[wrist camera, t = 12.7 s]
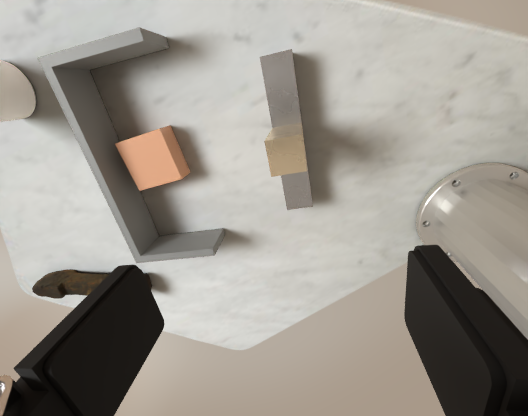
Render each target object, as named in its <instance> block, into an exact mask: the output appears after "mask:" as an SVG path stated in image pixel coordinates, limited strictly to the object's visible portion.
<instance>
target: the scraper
mask: <svg viewBox="0 0 528 416" xmlns="http://www.w3.org/2000/svg"><path fill="white" fill-rule="evenodd" d="M260 61H261V66H262V72H263V77H264V83H265V88H266V94H267V100H268V105H269V111H270V116H271V122H272V130H271V131H270V133H269V135H268V136H267V138H266V139H265V146H266V151H267V156H268V162H269V167H270V172H271V177H273V176H279V175H281V178H282V183H283V189H284V195H285V200H286V206H287V210H290V209H297V208H305V207H313V204H312V195H311V188H310V180H309V173H308V165H307V158H306V150H305V143H304V135H303V128H302V120H301V113H300V105H299V98H298V91H297V83H296V76H295V68H294V61H293V53H292V49H291V50H287V51H283V52H278V53H274V54H270V55H266V56H262V57H260Z"/></svg>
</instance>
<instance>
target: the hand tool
mask: <svg viewBox="0 0 528 416" xmlns="http://www.w3.org/2000/svg"><path fill="white" fill-rule="evenodd" d="M108 275H109V274H90V273H78V271H76V270H62V271H56V272H52V273H49V274H47V275H45V276H44V277H43V278H41V279H40V280H39V281H37V282H36V284H35V285H34V286H33V288H32V289H33V292H34V293H35V294H37V295H38V296H47V297H51V298H63V297H64V296H65V295H74V294H76V295H89V294H90V293H91V292H92V291H93V290H94V289H95V288H96V287H97V286H98V285H99V284H100V283H101V282H102V281H103V280H104V279H105V278H106V277H107V276H108ZM144 277H145V279H146V281H147V283H148V286H149V288H150V290H151V287H152V285H151V279H150V277H149V275H148V274H147V273H145V274H144Z"/></svg>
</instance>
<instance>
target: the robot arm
mask: <svg viewBox="0 0 528 416" xmlns="http://www.w3.org/2000/svg"><path fill="white" fill-rule="evenodd" d="M416 226H417V232H418V235H419V237H420V239H421V240H422V242H423V243H424V245H422V246H416V247H415V249H414V251H409V253H408V266H407V267H408V268H407V282H406V298H405V322H406V326H407V328H408V331H409V333H410V335H411V337H412V340H413V342H414V344H415V346H416V349H417V351H418V353H419V356H420V358H421V360H422V363H423V365H424V367H425V369H426V372H427V374H428V376H429V378H430V381H431V383H432V385H433V388H434V390H435V392H436V395H437V397H438V399H439V401H440V404H441V406H442V408H443V411H444V413H445V415H446V416H528V173H527V172H525V171H523V170H521V169H519V168H516V167H513V166H511V165H506V164H501V163H484V164H477V165H472V166H469V167H466V168H463V169H460V170H458V171H456V172H454V173H452V174H450V175H449V176H447V177H445V178H444V179H442V180H441V181H440V182H439V183H437V184H436V185H435V186H434V187H433V188H432V189H431V190H430V191H429V193H428V194H427V195H426V196H425V198H424V199H423V201H422V203H421V205H420V207H419V210H418V213H417V219H416ZM453 261H454V262H458V263H459V264H460V265H461V266H462V267H463V268H464V269H465V271H466V272H467V273H468V274H469V275H470V276H471V277H472V278H473V279H474V281H475V282H476V283H477V284H478V285H479V286H480V287H481V288H482V290H481V289H479V288H475V287H474V286H473V285H472V283H471V282H470V281H469V280H468V279H467V278H466V276H465V275H464V274H463V273H462V272H461V271H460V269H459V268H458V267H457V266H456V265H455V264H454V263H453ZM163 328H164V319H163V317H162V315H161V312H160V310H159V308H158V306H157V303H156V301H155V299H154V297H153V294H152V292H151V290H150V288H149V286H148V283H147V281H146V279H145V277H144V274H143V272H142V270H141V269H139V268H138V267H137V266H136V265H123V266H118V267H117V268H115V269H114V270H113V271H112V272H111V273H110V274H109V275H108V276H107V277H106V278H105V279H104V280H103V281H102V282H101V283H100V284H99V285H98V286H97V287H96V288H95V289H94V290H93V291H92V292H91V293H90V294H89V295H88V296H87V297H86V298H85V299H84V300H83V301H82V302H81V303H80V304H79V305H78V306H77V307H76V308H75V309H74V310H73V311H72V312H71V313H70V314H69V315H67V316H66V317H65V318H64V319H63V320H62V322H60V323H59V324H58V325H57V326H56V327H55V328H54V329H53V330H52V331H51V332H50V333H49V334H48V335H47V336H46V337H45V338H44V339H43V340H42V341H41V342H40V343H39V344H38V345H37V346H36V347H35V348H34V349H33V350H32V351H31V352H30V353H29V354H28V355H27V356H26V357H25V358H24V359H23V360H22V361H21V362H19V364H17V365H16V366H15V367H14V370H15V371H16V372H17V373H18V374H19V375H20V378H19V379H18V381H17V382H15V381H14V380H13V379H12V378H11V377H10V376H7V375H3V376H0V416H114V414H115V413H116V411H117V409H118V407H119V406H120V404H121V402H122V400H123V399H124V397H125V395H126V393H127V392H128V390H129V388H130V386H131V385H132V383H133V381H134V379H135V378H136V376H137V374H138V372H139V371H140V369H141V367H142V365H143V364H144V362H145V360H146V358H147V357H148V355H149V353H150V351H151V350H152V348H153V346H154V344H155V343H156V341H157V339H158V337H159V336H160V334H161V332H162V330H163Z"/></svg>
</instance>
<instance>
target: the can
mask: <svg viewBox="0 0 528 416" xmlns="http://www.w3.org/2000/svg"><path fill="white" fill-rule="evenodd" d="M35 107H36V95H35V91H34V89H33V86H32V84H31V83H30V81H29V80H28V78H27V77H26V76H25V75H24V74H23V73H22V72H21V71H20V70H19V69H18V68H16V67H15V66H14V65H12V64H10V63H8V62H6V61H2V60H0V122H3V121H11V120H18V119H24V118H27V117H29V116H30V115H31V114H32V113H33V111H34V109H35Z"/></svg>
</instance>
